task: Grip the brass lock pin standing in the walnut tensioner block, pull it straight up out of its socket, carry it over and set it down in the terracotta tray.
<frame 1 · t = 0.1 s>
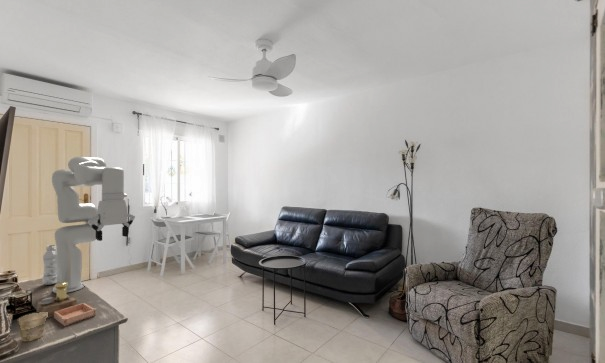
hand: (112, 238, 117), 31 cm above the sideboard, fingers open, 9 cm apart
plastic bottle: (50, 284, 147), on the sideboard
tensioner block: (56, 310, 118), on the sideboard
tray: (74, 316, 113), on the sideboard
lock pin: (61, 309, 120), resting in tensioner block
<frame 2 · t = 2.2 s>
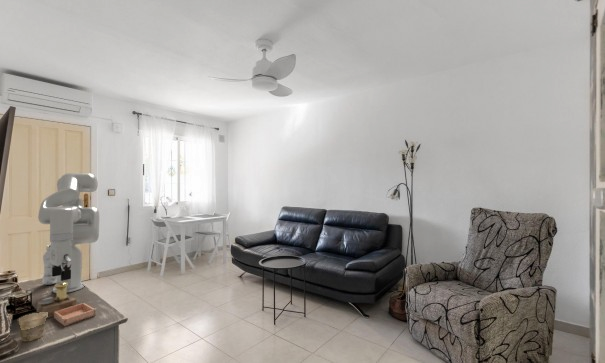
hand: (61, 277, 119), 14 cm above the sideboard, fingers open, 9 cm apart
nothing on the sideboard moved.
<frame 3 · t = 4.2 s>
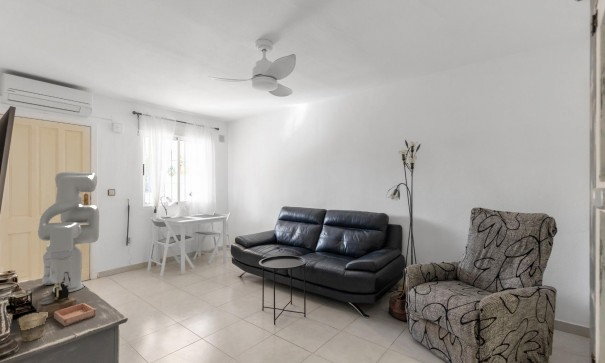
hand: (61, 296, 120), 5 cm above the sideboard, fingers closed on lock pin, 3 cm apart
lock pin: (61, 309, 120), resting in tensioner block, touching gripper
everything else where it was.
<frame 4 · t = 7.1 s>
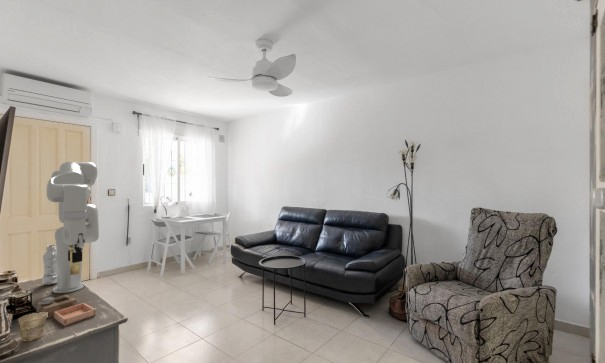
hand: (75, 260, 113), 23 cm above the sideboard, fingers closed on lock pin, 3 cm apart
lock pin: (74, 273, 113), point 18 cm above the sideboard, touching gripper
everything else where it was.
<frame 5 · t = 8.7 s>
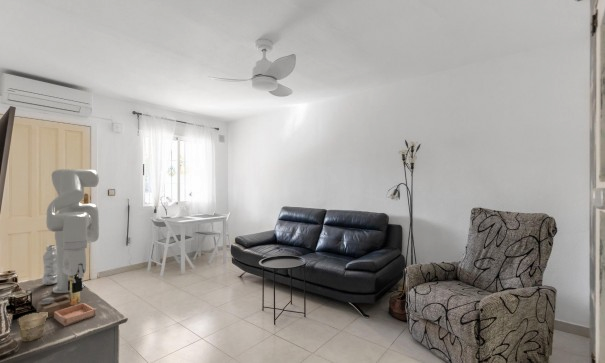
hand: (75, 290, 113), 11 cm above the sideboard, fingers closed on lock pin, 3 cm apart
lock pin: (74, 303, 113), point 6 cm above the sideboard, touching gripper
everything else where it was.
when the fingers open (7 cm above the sideboard, at t = 10.0 s): lock pin drops 1 cm, resting on tray.
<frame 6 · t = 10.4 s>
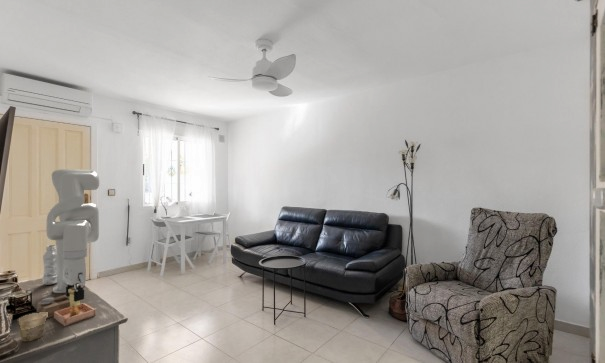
hand: (74, 297, 113), 8 cm above the sideboard, fingers open, 7 cm apart
lock pin: (74, 315, 113), point 1 cm above the sideboard, touching tray
everything else where it was.
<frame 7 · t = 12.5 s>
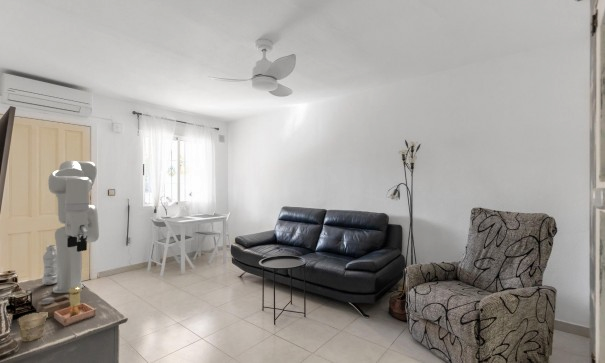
hand: (76, 248, 116), 27 cm above the sideboard, fingers open, 9 cm apart
nothing on the sideboard moved.
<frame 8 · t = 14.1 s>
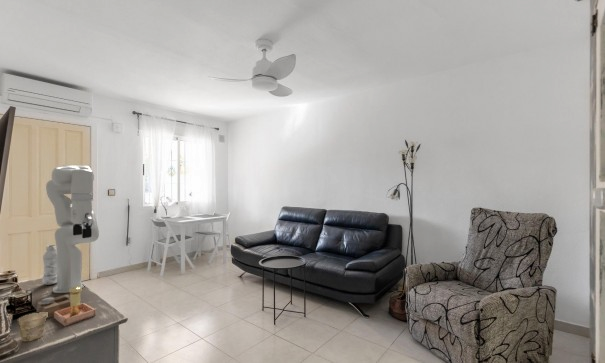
hand: (82, 236, 124), 30 cm above the sideboard, fingers open, 9 cm apart
nothing on the sideboard moved.
at the end: lock pin inside the target area on the tray (0.1 cm from its centre), point 0.5 cm above the tray's base; the gripper is holding nothing; lock pin moved 12.4 cm from its start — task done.
